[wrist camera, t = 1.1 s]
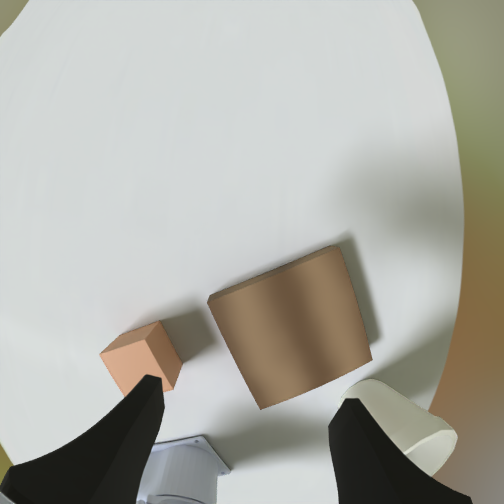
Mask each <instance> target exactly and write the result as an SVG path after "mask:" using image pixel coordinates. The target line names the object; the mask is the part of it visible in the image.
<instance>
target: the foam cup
mask: <svg viewBox="0 0 504 504" xmlns="http://www.w3.org/2000/svg"><path fill="white" fill-rule="evenodd" d="M345 398H359V399H360V401H361V402H362V403H363V404H364V406H365V407H366V408H367V410H368V411H369V412H370V414H371V415H372V416H373V418H374V419H375V420H376V422H377V423H378V424H379V426H380V427H381V428H382V429H383V431H384V432H385V433H386V434H387V436H388V437H389V438H390V439H391V440H392V441H393V443H394V444H395V445H396V446H397V447H398V448H399V449H400V450H401V451H402V452H403V453H404V454H405V455H406V456H407V457H408V458H409V459H410V460H411V461H412V462H413V463H414V464H415V465H416V466H418V467H419V468H420V469H421V470H422V471H424V472H425V473H426V474H428V475H429V476H432V475H433V474H434V473H436V472H437V471H438V470H439V469H440V468H441V467H442V466H443V465H444V463H445V462H446V460H447V459H448V457H449V456H450V455H451V453H452V451H453V450H454V448H455V444H456V441H457V438H458V436H457V434H456V432H455V431H454V429H453V428H452V427H451V426H450V425H448V424H447V423H446V422H445V421H444V420H443V419H442V418H441V417H435V416H434V415H432V414H431V413H429V412H428V411H426V410H424V409H423V408H421V407H420V406H418V405H417V404H415V403H413V402H412V401H410V400H409V399H407V398H406V397H404V396H403V395H401V394H400V393H398V392H397V391H395V390H394V389H392V388H391V387H389V386H388V385H386V384H385V383H383V382H381V381H380V380H376V379H367V380H363V381H360V382H358V383H356V384H355V385H353V386H352V387H350V388H349V389H348V390H347V391H346V392H345V394H344V395H343V396H342V397H341V400H340V402H339V405H338V410H339V408H340V406H341V405H342V403H343V401H344V400H345Z"/></svg>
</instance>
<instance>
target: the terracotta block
mask: <svg viewBox="0 0 504 504" xmlns="http://www.w3.org/2000/svg"><path fill="white" fill-rule="evenodd" d="M99 355H100V357H101V359H102V360H103V362H104V364H105V366H106V367H107V369H108V371H109V373H110V374H111V376H112V378H113V379H114V381H115V382H116V384H117V386H118V387H119V389H120V390H121V392H122V393H123V395H124V396H126V395H127V394H128V393H129V392H130V391H131V390H132V389H133V388H134V387H135V386H136V385H137V383H138V382H139V381H140V380H141V379H142V378H143V376H144V375H146V374H149V375H153V376H157V377H161V378H162V386H163V392H166V391H170V390H173V389H174V386H175V384H176V381H177V378H178V376H179V373H180V370H181V367H182V365H183V364H182V362H181V360H180V358H179V356H178V355H177V353H176V351H175V349H174V347H173V345H172V343H171V341H170V339H169V337H168V335H167V334H166V332H165V330H164V328H163V325H162V323H161V321H157V322H155V323H152V324H149V325H146V326H144V327H141V328H138V329H136V330H133V331H130V332H127V333H124V334H122V335H119V336H118V337H117V338H116V339H115V340H114V341H113V342H112V343H111V344H110V345H109V346H108V347H107V348H106V349H104V350H103V351H102V352H101V353H100V354H99Z"/></svg>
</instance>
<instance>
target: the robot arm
mask: <svg viewBox="0 0 504 504" xmlns="http://www.w3.org/2000/svg"><path fill="white" fill-rule="evenodd" d="M164 409H165V405H164V396H163V386H162V378H161V377H157V376H153V375H149V374H146V375H144V376H143V378H142V379H141V380H140V381H139V382H138V383H137V385H136V386H135V387H134V388H133V389H132V390H131V391H130V392H129V393H128V394H127V395H126V396H125V398H124V399H123V400H122V401H120V402H119V403H118V404H117V405H116V406H115V407H114V408H113V409H112V410H111V411H110V412H109V413H108V414H107V415H106V416H104V417H103V418H102V419H101V420H100V421H99V422H97V423H96V424H95V425H94V426H93V427H91V428H90V429H89V430H87V431H86V432H85V433H83V434H82V435H80V436H79V437H77V438H76V439H74V440H73V441H71V442H69V443H68V444H66V445H64V446H62V447H61V448H59V449H57V450H55V451H53V452H51V453H48V454H46V455H44V456H42V457H39V458H37V459H34V460H31V461H28V462H25V463H22V464H18V465H15V466H11V467H10V468H9V470H8V471H7V473H6V475H5V476H4V479H3V481H2V483H1V485H0V492H1V493H0V504H216V502H217V476H222V475H227V474H230V473H231V471H230V469H229V468H228V467H227V466H226V465H225V463H224V462H223V461H222V460H221V458H220V457H219V456H218V455H217V453H216V452H215V451H214V450H213V448H212V447H211V446H210V444H209V443H208V442H207V440H206V439H205V438H204V437H202V436H198V437H194V438H189V439H184V440H179V441H173V442H168V443H161V444H155V445H154V442H155V440H156V437H157V435H158V432H159V429H160V425H161V422H162V418H163V413H164ZM328 429H329V446H330V452H331V457H332V462H333V467H334V472H335V477H336V482H337V488H338V497H339V504H473V503H472V500H471V498H470V497H469V496H466V495H464V494H462V493H459V492H457V491H454V490H452V489H450V488H449V487H447V486H445V485H443V484H441V483H440V482H438V481H436V480H435V479H433V478H432V477H431V476H429V475H428V474H426V473H425V472H424V471H422V470H421V469H420V468H419V467H418V466H416V465H415V464H414V463H413V462H412V461H411V460H410V459H409V458H408V457H407V456H406V455H405V454H404V453H403V452H402V451H401V450H400V449H399V448H398V447H397V446H396V445H395V444H394V443H393V441H392V440H391V439H390V438H389V437H388V436H387V434H386V433H385V432H384V431H383V429H382V428H381V427H380V426H379V424H378V423H377V422H376V420H375V419H374V418H373V416H372V415H371V414H370V412H369V411H368V410H367V408H366V407H365V406H364V404H363V403H362V402H361V401H360V399H359V398H345V400H344V401H343V403H342V405H341V406H340V408H339V410H338V411H337V413H336V414H335V416H334V418H333V419H332V421H331V422H330V424H329V425H328ZM196 440H198V441H196Z"/></svg>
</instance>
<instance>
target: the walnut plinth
mask: <svg viewBox="0 0 504 504" xmlns="http://www.w3.org/2000/svg"><path fill="white" fill-rule="evenodd" d="M207 304H208V306H209V308H210V310H211V312H212V315H213V317H214V319H215V321H216V323H217V325H218V327H219V330H220V332H221V334H222V336H223V338H224V340H225V342H226V344H227V346H228V348H229V350H230V352H231V354H232V356H233V358H234V360H235V362H236V364H237V366H238V368H239V370H240V372H241V374H242V376H243V378H244V380H245V382H246V384H247V386H248V388H249V390H250V392H251V393H252V395H253V397H254V399H255V401H256V403H257V405H258V406H259V408H260V410H261V409H264V408H267V407H270V406H272V405H275V404H278V403H281V402H283V401H286V400H288V399H291V398H294V397H296V396H298V395H301V394H303V393H306V392H308V391H310V390H313V389H315V388H317V387H320V386H322V385H324V384H326V383H328V382H331V381H333V380H335V379H337V378H339V377H341V376H343V375H345V374H347V373H349V372H351V371H353V370H355V369H357V368H359V367H361V366H363V365H365V364H366V363H368V362H370V361H372V360H373V359H372V355H371V351H370V347H369V343H368V339H367V335H366V332H365V328H364V324H363V321H362V317H361V313H360V310H359V307H358V303H357V300H356V296H355V293H354V290H353V287H352V283H351V280H350V277H349V274H348V271H347V268H346V265H345V262H344V259H343V256H342V253H341V250H340V247H335V246H328V247H326V248H323V249H321V250H319V251H316V252H314V253H312V254H309V255H307V256H305V257H302V258H300V259H297V260H295V261H293V262H290V263H288V264H286V265H283V266H281V267H278V268H276V269H274V270H271V271H269V272H266V273H264V274H262V275H259V276H257V277H254V278H252V279H249V280H247V281H245V282H242V283H240V284H237V285H235V286H232V287H230V288H227V289H225V290H222V291H220V292H217V293H215V294H212V295H210V296H209V298H208V301H207Z"/></svg>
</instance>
